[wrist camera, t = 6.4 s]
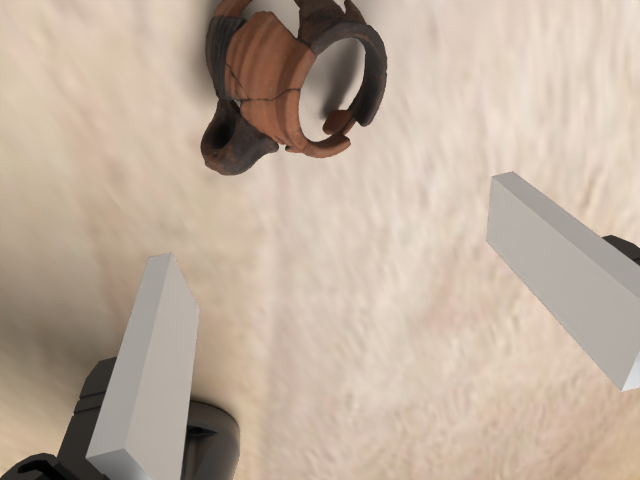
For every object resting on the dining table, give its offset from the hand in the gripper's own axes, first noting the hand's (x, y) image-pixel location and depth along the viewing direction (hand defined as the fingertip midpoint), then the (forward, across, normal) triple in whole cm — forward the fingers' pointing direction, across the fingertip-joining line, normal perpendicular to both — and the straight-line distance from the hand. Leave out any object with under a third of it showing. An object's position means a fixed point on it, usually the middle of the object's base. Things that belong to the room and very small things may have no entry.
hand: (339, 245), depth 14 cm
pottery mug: (+16, -1, +2) cm, 16 cm away
